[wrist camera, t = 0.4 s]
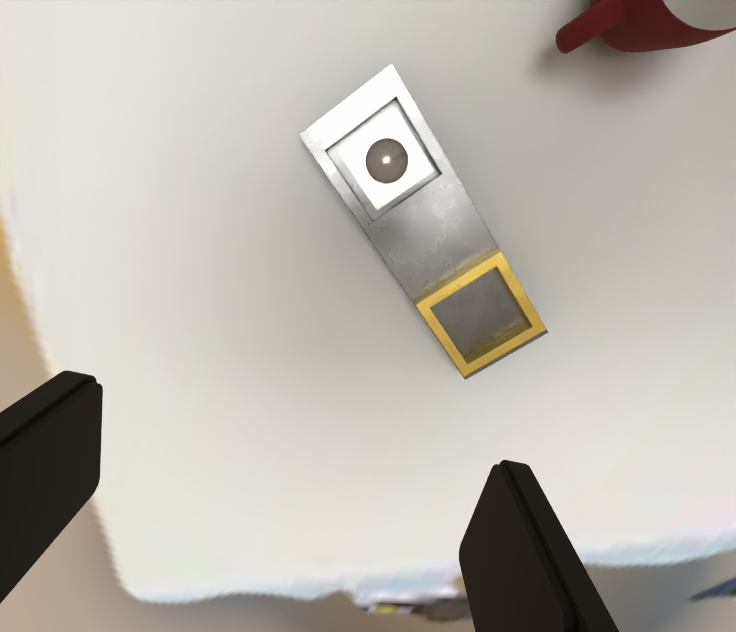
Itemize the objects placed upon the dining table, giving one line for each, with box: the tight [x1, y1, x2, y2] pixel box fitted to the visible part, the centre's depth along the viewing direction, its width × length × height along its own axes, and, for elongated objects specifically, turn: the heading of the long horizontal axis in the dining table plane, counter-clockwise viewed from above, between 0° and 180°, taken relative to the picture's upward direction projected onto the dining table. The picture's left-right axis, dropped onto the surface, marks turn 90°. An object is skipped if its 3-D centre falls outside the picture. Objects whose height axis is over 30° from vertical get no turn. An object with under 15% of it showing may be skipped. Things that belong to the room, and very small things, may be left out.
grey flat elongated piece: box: [299, 63, 548, 380], centre depth 33 cm, size 8×24×4 cm, turn 34°
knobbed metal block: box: [338, 108, 434, 210], centre depth 27 cm, size 4×4×8 cm
